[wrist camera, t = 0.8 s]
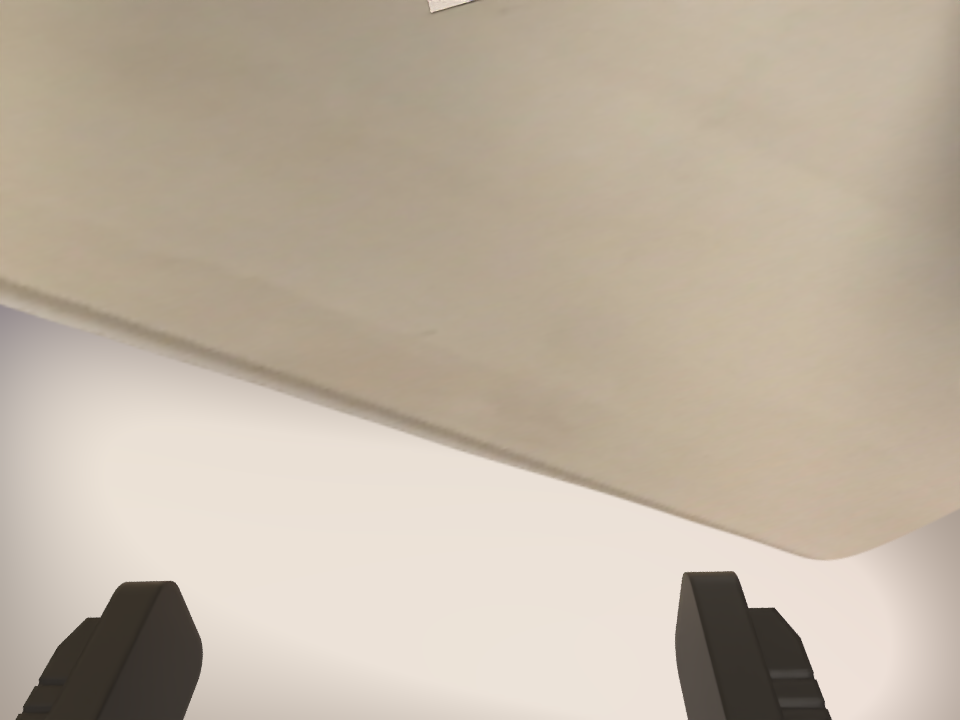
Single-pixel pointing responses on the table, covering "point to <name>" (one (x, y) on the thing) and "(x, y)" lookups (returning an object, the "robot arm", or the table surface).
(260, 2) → the table surface
